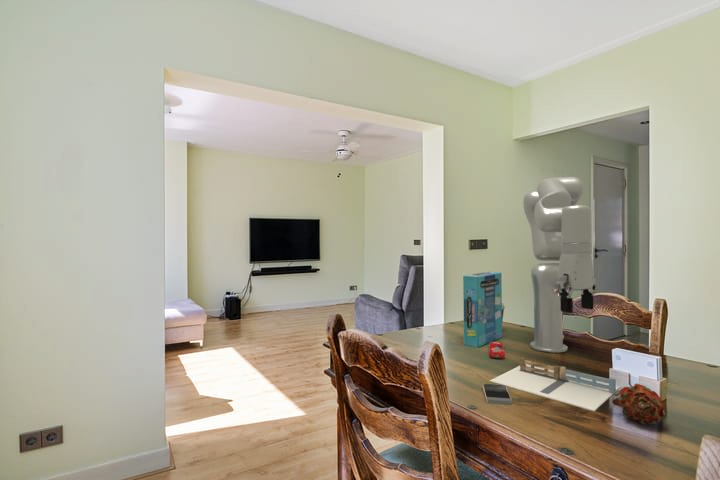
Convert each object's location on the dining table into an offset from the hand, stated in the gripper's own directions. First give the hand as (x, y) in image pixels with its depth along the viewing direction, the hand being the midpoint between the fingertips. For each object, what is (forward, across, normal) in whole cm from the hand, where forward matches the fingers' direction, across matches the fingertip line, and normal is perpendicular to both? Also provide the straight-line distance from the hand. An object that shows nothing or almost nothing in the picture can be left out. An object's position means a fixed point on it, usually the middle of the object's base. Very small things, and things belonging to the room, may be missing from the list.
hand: (577, 310), depth 109 cm
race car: (+21, -3, -32) cm, 38 cm away
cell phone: (+22, +25, -7) cm, 34 cm away
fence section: (+21, +3, -10) cm, 23 cm away
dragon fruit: (+21, +9, +19) cm, 30 cm away
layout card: (+21, +6, -4) cm, 22 cm away
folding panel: (+20, 0, +2) cm, 20 cm away
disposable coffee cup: (+20, -30, -56) cm, 67 cm away
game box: (+21, -12, -46) cm, 52 cm away
